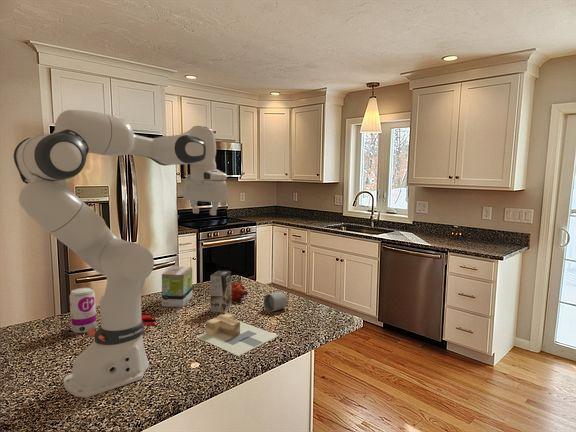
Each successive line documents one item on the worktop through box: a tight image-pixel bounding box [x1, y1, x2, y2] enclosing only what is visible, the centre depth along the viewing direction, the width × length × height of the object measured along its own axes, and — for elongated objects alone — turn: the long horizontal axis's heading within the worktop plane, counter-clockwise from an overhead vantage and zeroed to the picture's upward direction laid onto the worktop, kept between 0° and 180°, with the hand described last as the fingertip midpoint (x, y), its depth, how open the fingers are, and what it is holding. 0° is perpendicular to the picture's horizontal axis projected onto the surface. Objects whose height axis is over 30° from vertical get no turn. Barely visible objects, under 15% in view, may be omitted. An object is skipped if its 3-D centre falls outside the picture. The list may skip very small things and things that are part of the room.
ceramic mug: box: [263, 291, 288, 313], centre depth 163 cm, size 11×8×8 cm
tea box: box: [161, 266, 193, 308], centre depth 171 cm, size 15×10×15 cm
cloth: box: [141, 312, 157, 327], centre depth 152 cm, size 26×14×2 cm, turn 39°
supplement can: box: [68, 287, 97, 334], centre depth 139 cm, size 8×8×15 cm
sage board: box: [195, 319, 280, 357], centre depth 134 cm, size 20×22×1 cm
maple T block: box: [205, 312, 241, 337], centre depth 137 cm, size 11×10×4 cm
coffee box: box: [209, 270, 232, 313], centre depth 161 cm, size 9×6×16 cm
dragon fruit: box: [231, 281, 249, 302], centre depth 176 cm, size 8×8×12 cm
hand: (204, 214), depth 132 cm, fingers open, 8 cm apart
